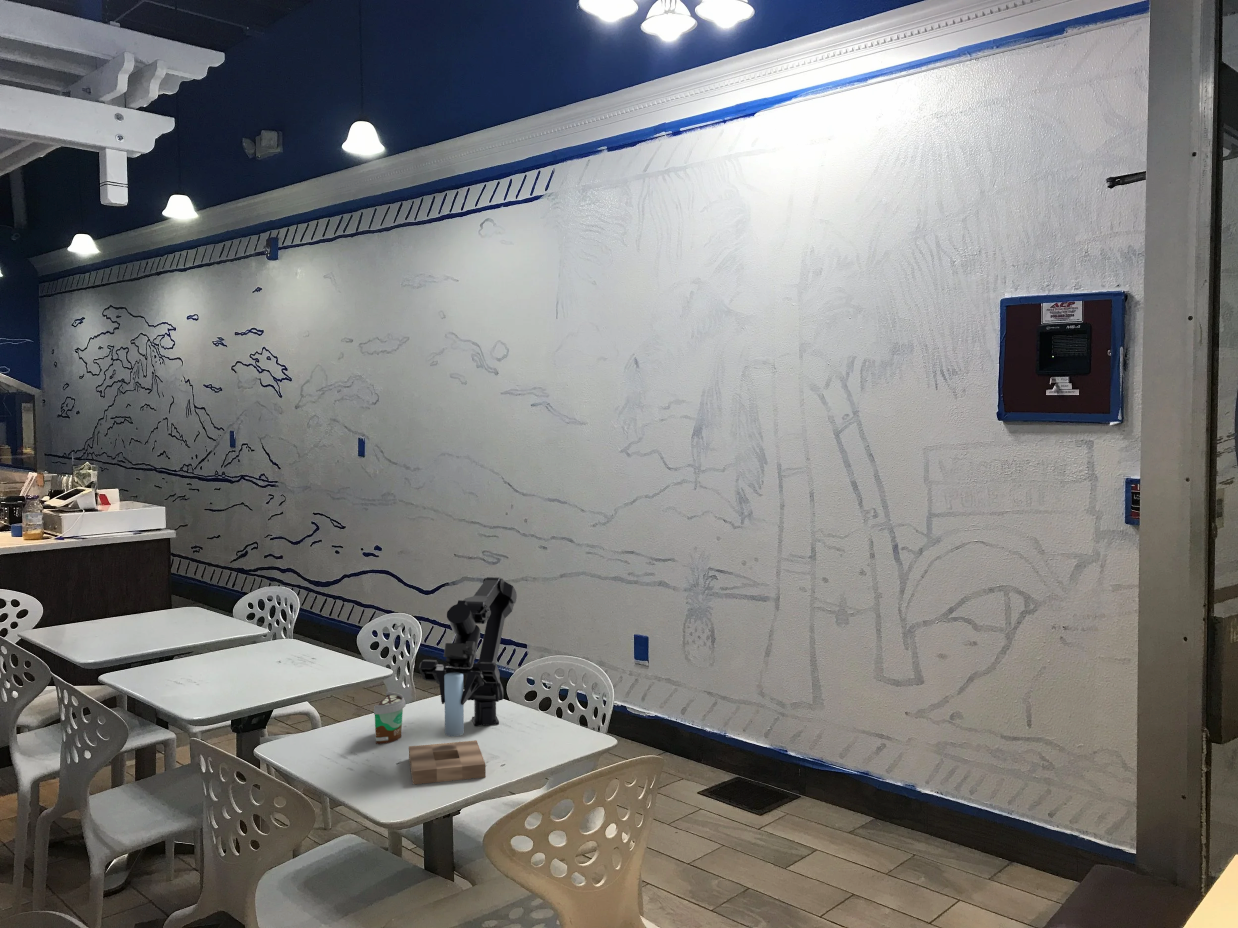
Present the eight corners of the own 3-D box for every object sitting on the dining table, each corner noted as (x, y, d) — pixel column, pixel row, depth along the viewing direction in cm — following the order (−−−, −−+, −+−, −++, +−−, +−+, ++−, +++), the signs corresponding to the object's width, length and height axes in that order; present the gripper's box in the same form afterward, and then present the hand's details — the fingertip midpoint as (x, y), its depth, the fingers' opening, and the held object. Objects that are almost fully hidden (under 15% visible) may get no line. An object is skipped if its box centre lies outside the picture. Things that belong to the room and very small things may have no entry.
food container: (399, 746, 236) (398, 706, 236) (374, 746, 236) (373, 705, 236) (411, 729, 249) (410, 691, 248) (387, 729, 249) (386, 691, 248)
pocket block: (408, 758, 228) (408, 746, 228) (476, 752, 232) (476, 740, 232) (413, 784, 212) (412, 770, 212) (485, 776, 217) (485, 763, 217)
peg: (444, 730, 230) (443, 673, 229) (462, 729, 231) (462, 671, 230) (445, 736, 226) (445, 678, 225) (464, 735, 227) (464, 676, 226)
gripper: (420, 626, 232) (405, 685, 222) (496, 629, 230) (484, 688, 219) (431, 650, 240) (417, 707, 230) (504, 653, 238) (493, 711, 228)
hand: (452, 703), depth 227 cm, fingers closed on peg, 4 cm apart
